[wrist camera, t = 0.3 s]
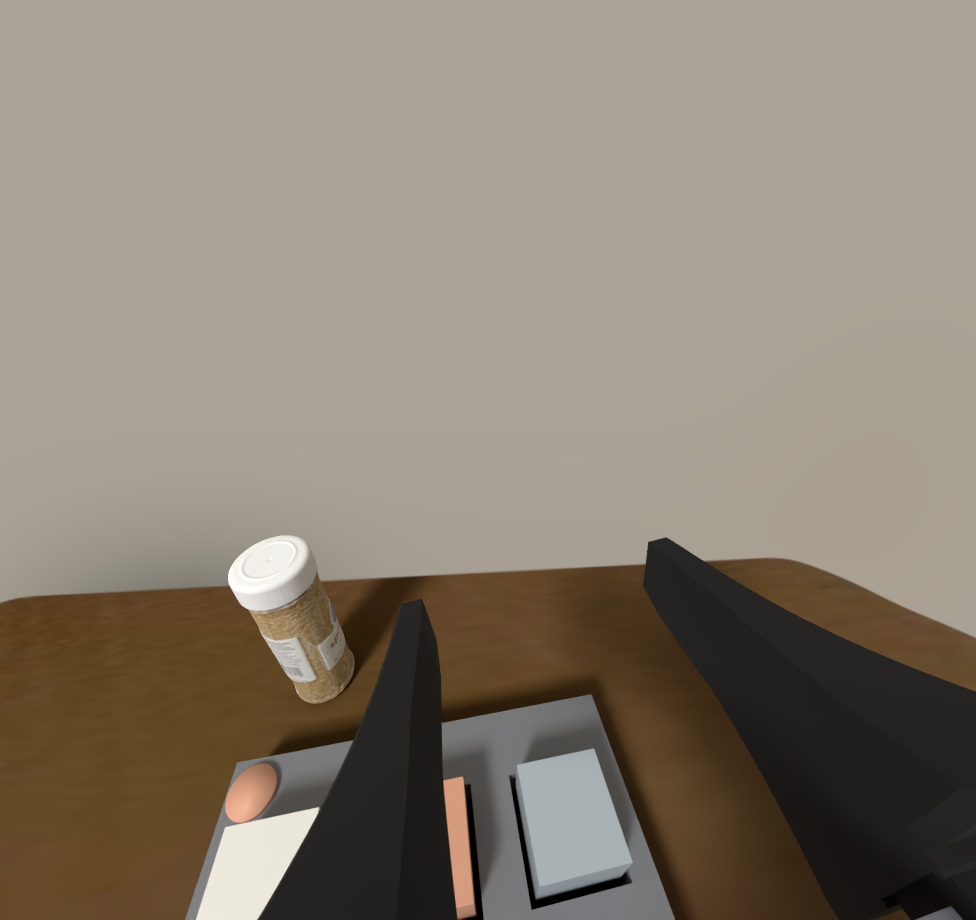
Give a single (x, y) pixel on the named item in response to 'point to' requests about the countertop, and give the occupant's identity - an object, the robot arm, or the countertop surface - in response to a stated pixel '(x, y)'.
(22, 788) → the countertop surface
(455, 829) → the terracotta button
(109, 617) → the countertop surface
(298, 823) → the off-white button
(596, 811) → the grey button
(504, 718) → the console
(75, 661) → the countertop surface
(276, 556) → the spice jar
